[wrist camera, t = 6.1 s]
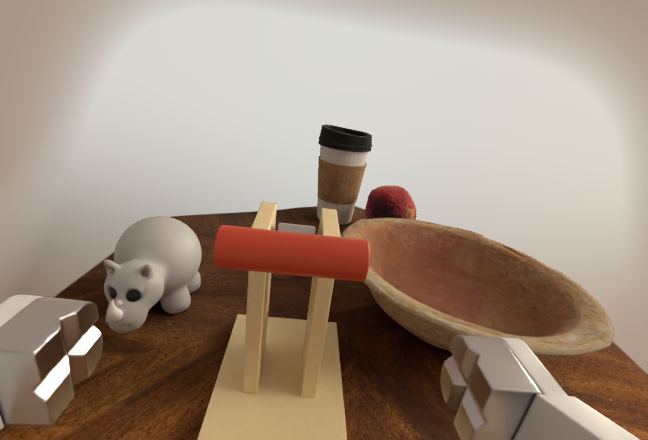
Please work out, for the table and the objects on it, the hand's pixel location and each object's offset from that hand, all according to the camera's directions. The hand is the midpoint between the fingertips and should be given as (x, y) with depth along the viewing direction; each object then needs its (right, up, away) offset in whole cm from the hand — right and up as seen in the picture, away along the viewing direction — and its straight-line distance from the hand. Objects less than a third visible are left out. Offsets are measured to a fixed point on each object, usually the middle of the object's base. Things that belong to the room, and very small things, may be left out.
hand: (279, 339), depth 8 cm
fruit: (+11, 0, +47) cm, 48 cm away
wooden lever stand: (-2, -10, +18) cm, 21 cm away
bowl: (+13, -8, +28) cm, 32 cm away
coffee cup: (+3, +3, +51) cm, 51 cm away
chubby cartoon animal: (-15, -6, +23) cm, 28 cm away
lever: (-1, 0, +9) cm, 9 cm away
